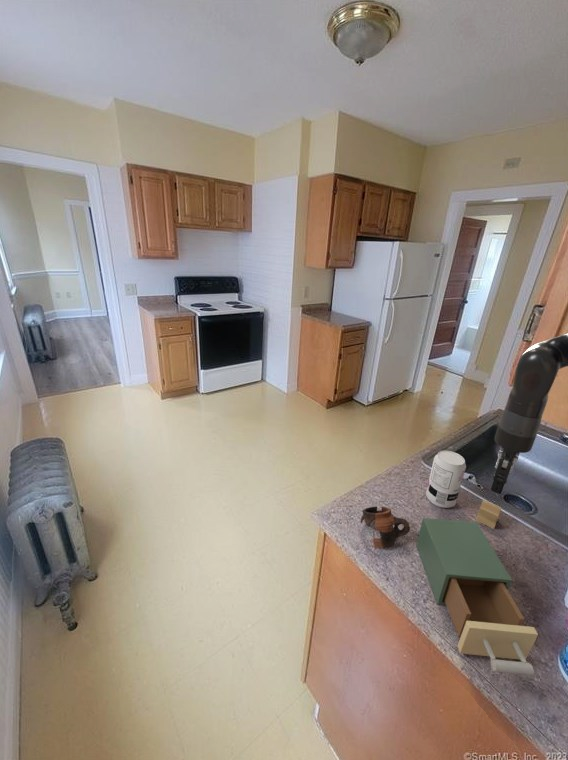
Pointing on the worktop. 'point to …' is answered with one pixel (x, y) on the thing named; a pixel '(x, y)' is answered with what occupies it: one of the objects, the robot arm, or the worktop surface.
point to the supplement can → (445, 479)
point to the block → (488, 514)
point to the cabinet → (457, 555)
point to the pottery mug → (385, 526)
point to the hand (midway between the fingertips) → (498, 483)
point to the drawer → (489, 623)
